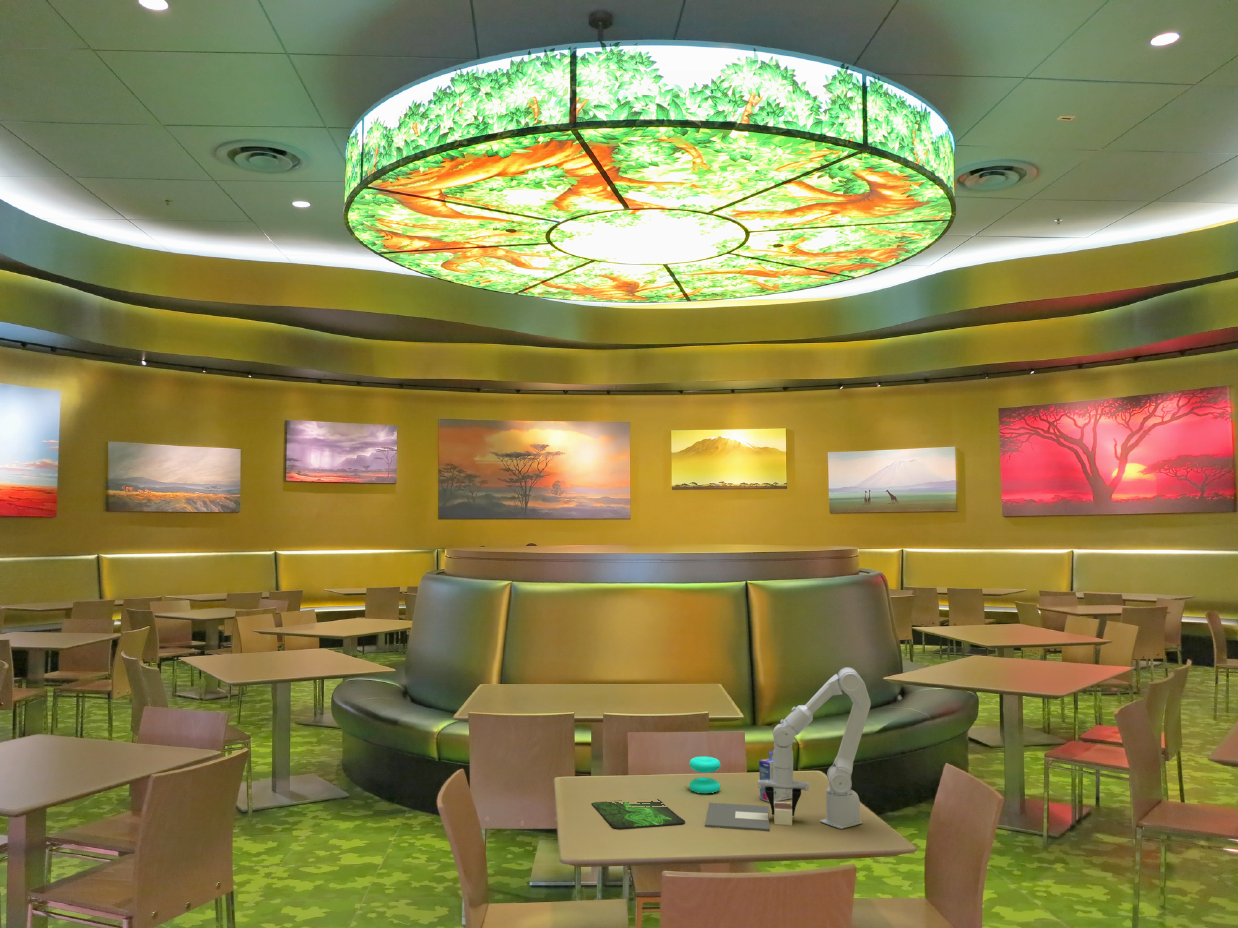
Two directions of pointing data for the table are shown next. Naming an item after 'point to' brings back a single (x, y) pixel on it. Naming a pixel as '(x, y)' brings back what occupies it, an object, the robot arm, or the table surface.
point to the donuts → (705, 767)
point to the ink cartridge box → (767, 774)
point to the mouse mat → (636, 814)
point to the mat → (738, 816)
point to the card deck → (783, 813)
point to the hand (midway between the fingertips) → (782, 814)
